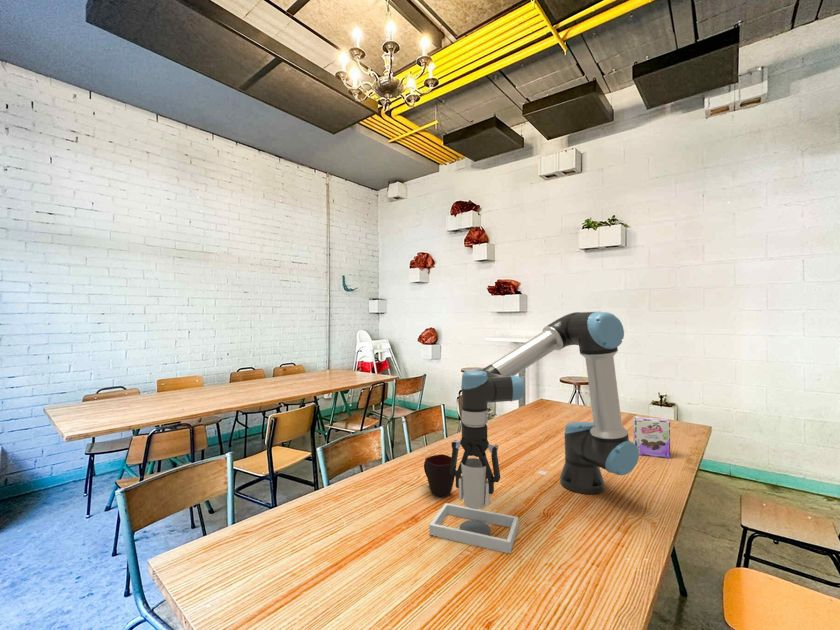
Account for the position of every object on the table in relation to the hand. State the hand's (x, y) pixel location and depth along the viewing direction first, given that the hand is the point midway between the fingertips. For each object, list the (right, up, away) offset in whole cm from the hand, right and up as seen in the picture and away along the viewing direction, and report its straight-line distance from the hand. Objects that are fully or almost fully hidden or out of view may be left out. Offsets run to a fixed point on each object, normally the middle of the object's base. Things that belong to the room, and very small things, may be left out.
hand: (474, 501), depth 114 cm
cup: (0, -1, 0) cm, 1 cm away
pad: (0, -9, 0) cm, 9 cm away
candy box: (+89, -9, +61) cm, 108 cm away
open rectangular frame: (0, -9, 0) cm, 9 cm away
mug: (-10, -9, +25) cm, 29 cm away
